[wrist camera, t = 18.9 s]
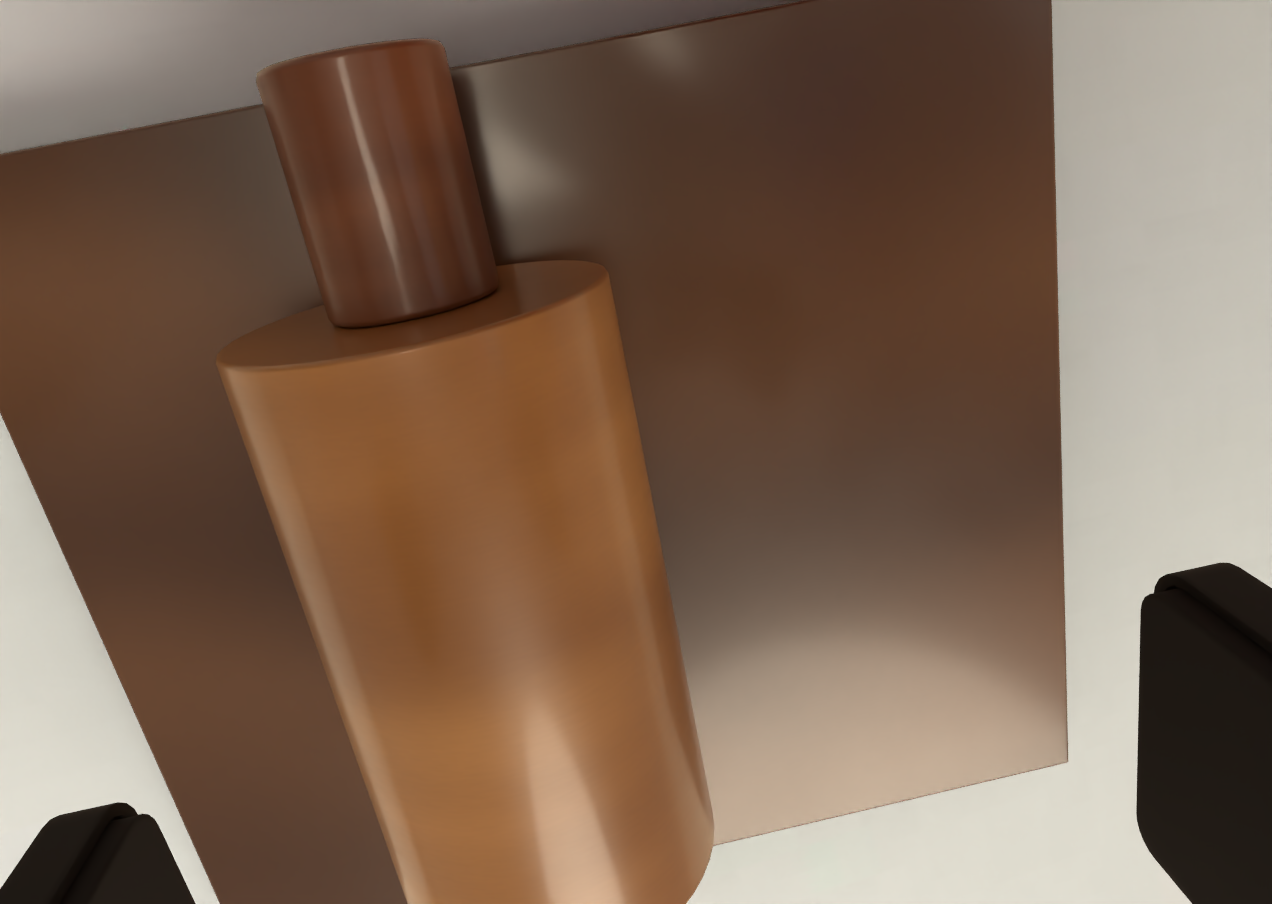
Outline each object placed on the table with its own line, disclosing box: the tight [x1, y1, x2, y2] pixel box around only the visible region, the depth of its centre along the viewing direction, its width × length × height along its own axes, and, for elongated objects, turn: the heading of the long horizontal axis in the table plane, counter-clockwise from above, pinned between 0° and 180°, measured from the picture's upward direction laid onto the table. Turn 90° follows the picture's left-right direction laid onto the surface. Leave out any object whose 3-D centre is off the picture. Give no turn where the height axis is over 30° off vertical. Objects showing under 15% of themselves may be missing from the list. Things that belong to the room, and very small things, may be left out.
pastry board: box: [0, 0, 1068, 904], centre depth 16 cm, size 15×17×1 cm
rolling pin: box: [216, 38, 714, 904], centre depth 13 cm, size 15×5×5 cm
